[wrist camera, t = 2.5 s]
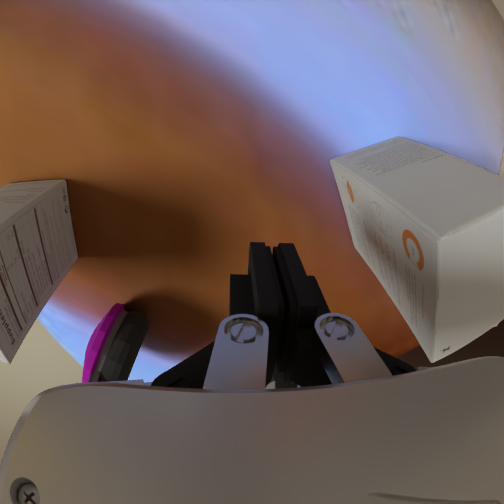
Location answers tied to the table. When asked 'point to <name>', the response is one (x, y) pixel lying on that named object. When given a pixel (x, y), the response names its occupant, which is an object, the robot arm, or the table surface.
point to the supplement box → (31, 254)
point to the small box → (428, 237)
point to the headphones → (128, 348)
